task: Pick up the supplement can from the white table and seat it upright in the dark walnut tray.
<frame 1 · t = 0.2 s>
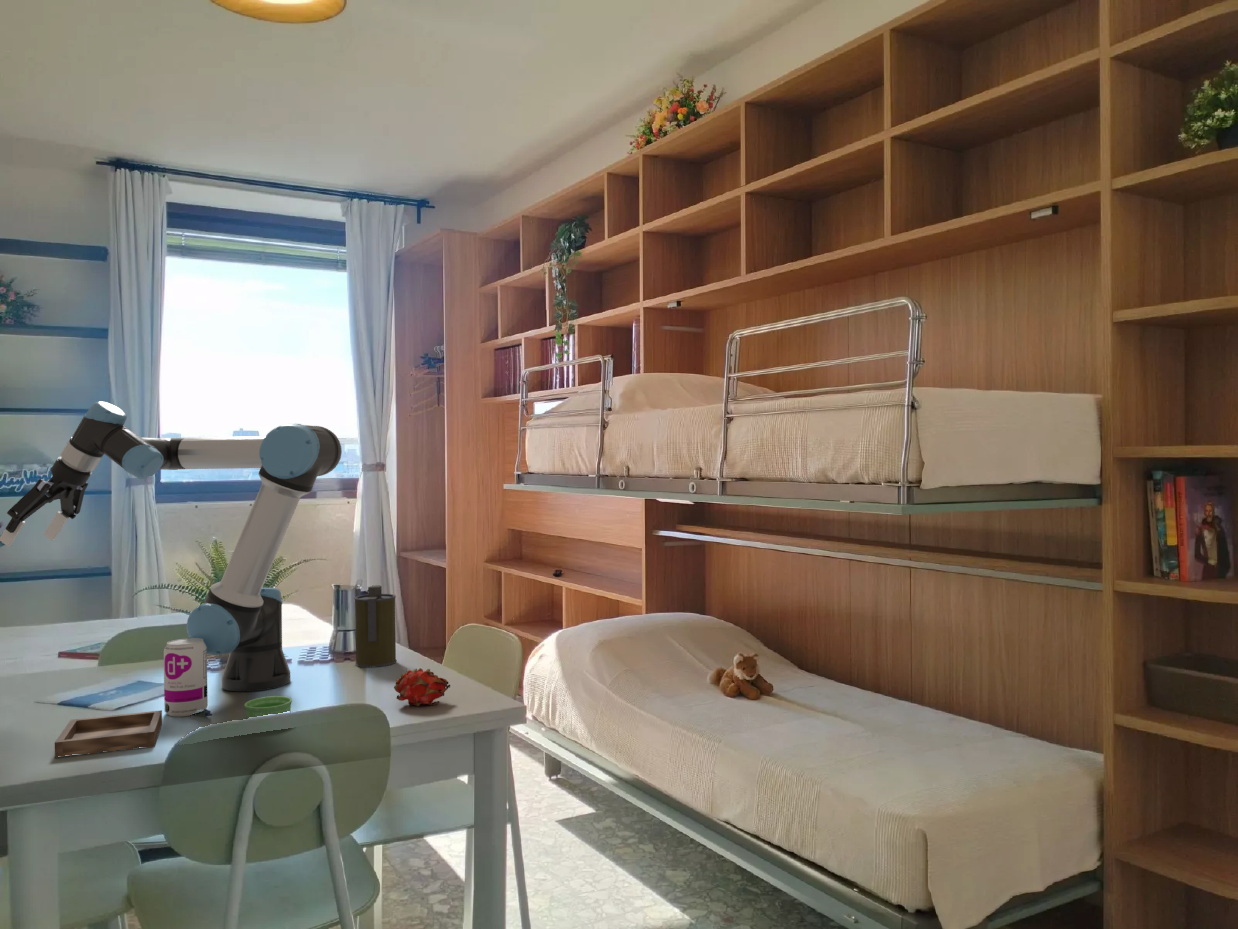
hand: (27, 540, 210), 36 cm above the table, tool tilted 35°, fingers open, 13 cm apart
supplement can: (186, 713, 194), on the table
canister: (376, 664, 239), on the table
dragon fruit: (422, 705, 198), on the table
walnut tray: (111, 740, 175), on the table
ramekin: (268, 724, 186), on the table
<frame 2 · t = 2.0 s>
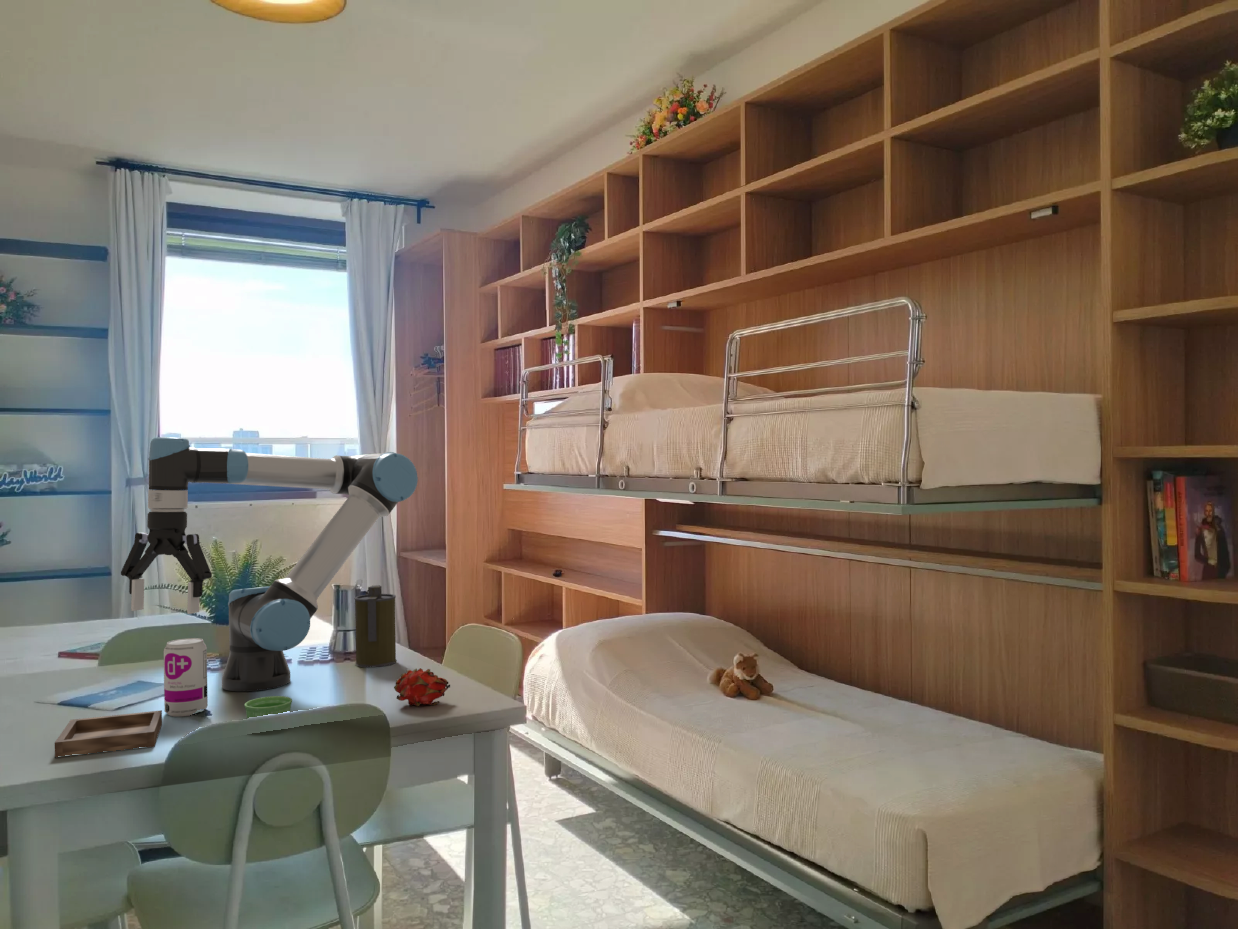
hand: (165, 611, 194), 21 cm above the table, tool pointing down, fingers open, 13 cm apart
nothing on the table moved.
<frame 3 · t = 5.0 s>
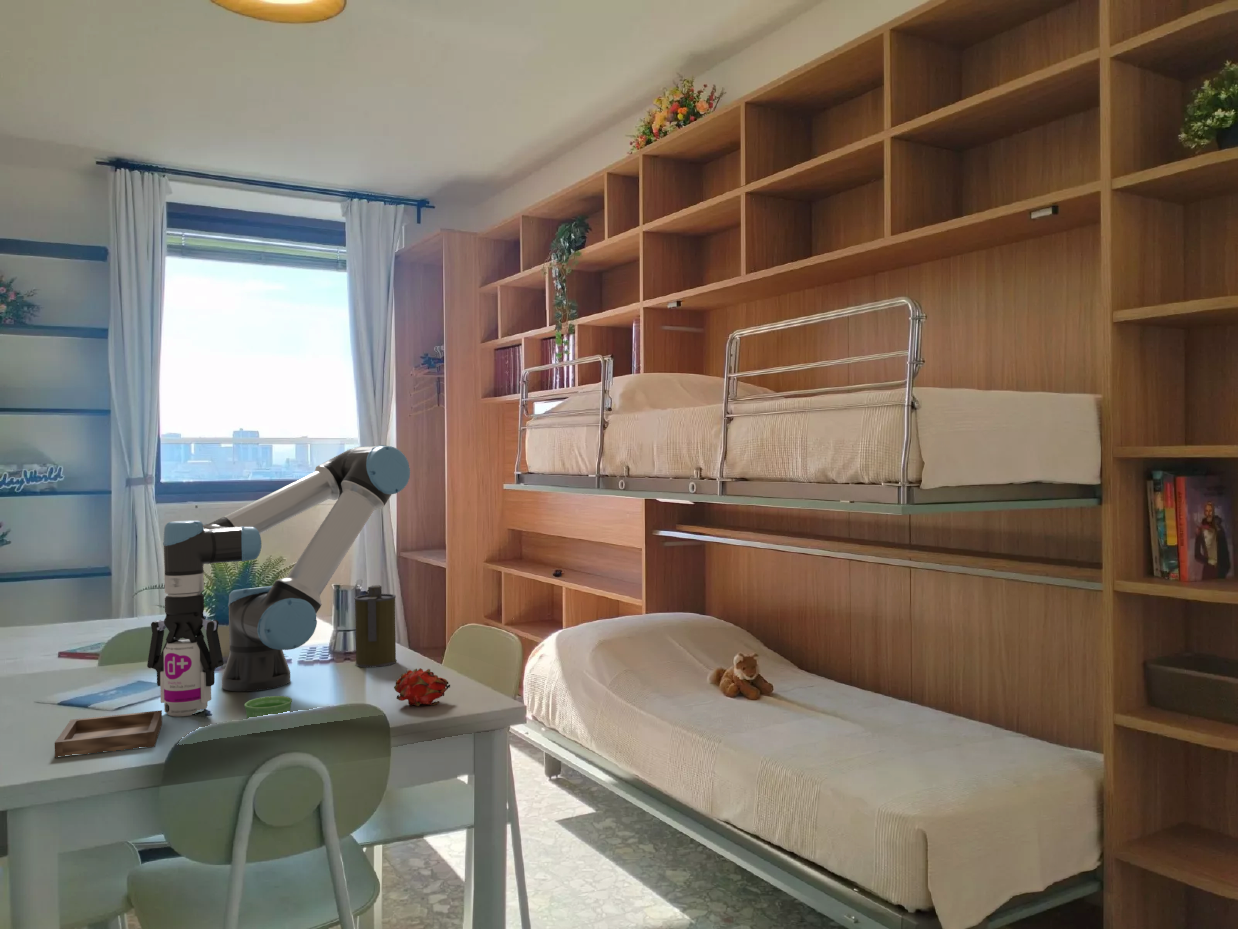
hand: (186, 701, 194), 2 cm above the table, tool pointing down, fingers closed on supplement can, 8 cm apart
supplement can: (186, 713, 194), on the table, touching gripper
everything else where it was.
when the fingers open (5 cm above the table, at t = 11.3 s): supplement can drops 2 cm, resting on walnut tray.
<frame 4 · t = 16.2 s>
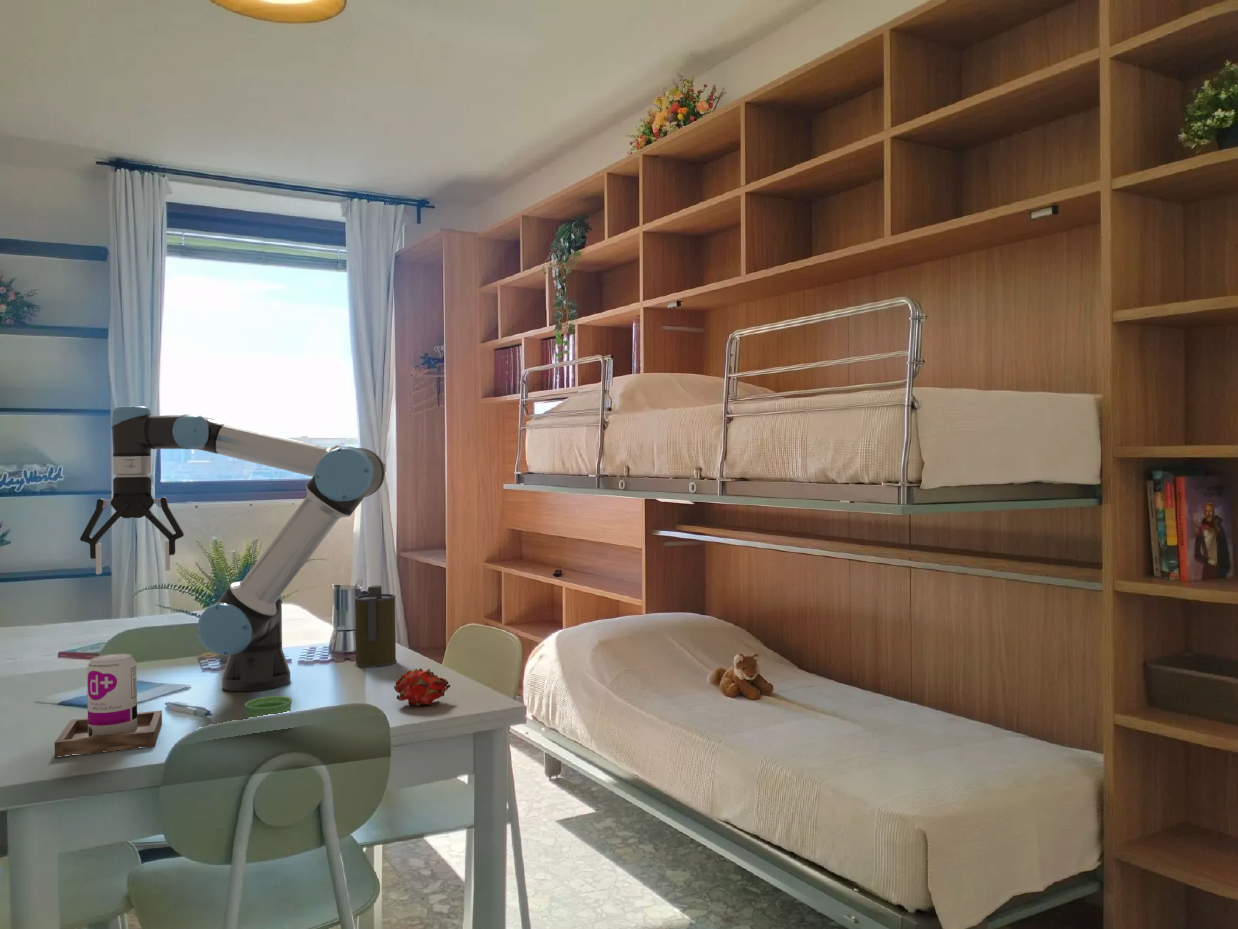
hand: (133, 571, 204), 29 cm above the table, tool pointing down, fingers open, 13 cm apart
supplement can: (113, 736, 175), point 1 cm above the table, touching walnut tray
everything else where it was.
at the end: supplement can 0.3 cm off-centre on the walnut tray, point 0.6 cm above the walnut tray's base; supplement can tilted 0°; the gripper is holding nothing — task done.
